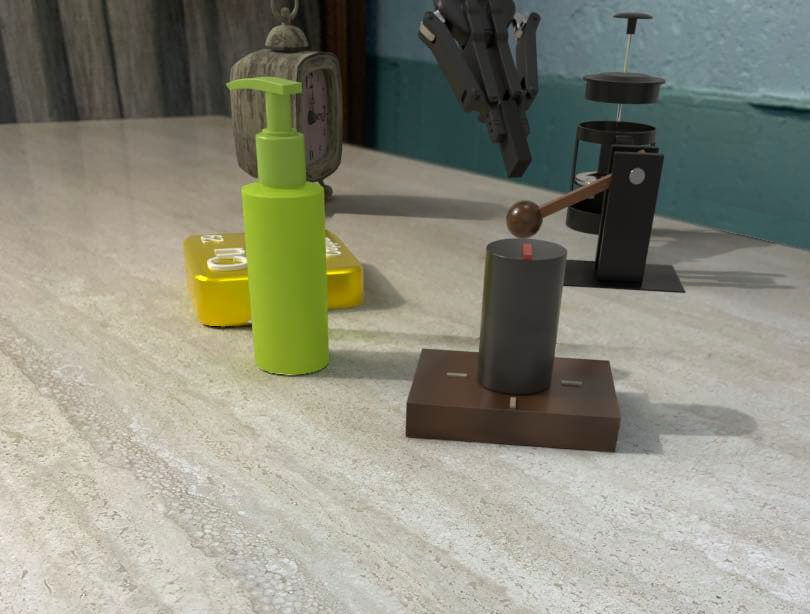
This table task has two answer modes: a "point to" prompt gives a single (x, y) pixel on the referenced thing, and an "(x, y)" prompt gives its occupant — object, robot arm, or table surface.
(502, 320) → the knob
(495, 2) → the robot arm
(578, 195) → the lever
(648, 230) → the bracket
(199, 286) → the element tile
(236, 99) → the tabletop clock
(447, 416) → the panel
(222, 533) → the table surface
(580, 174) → the french press
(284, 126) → the soap dispenser
